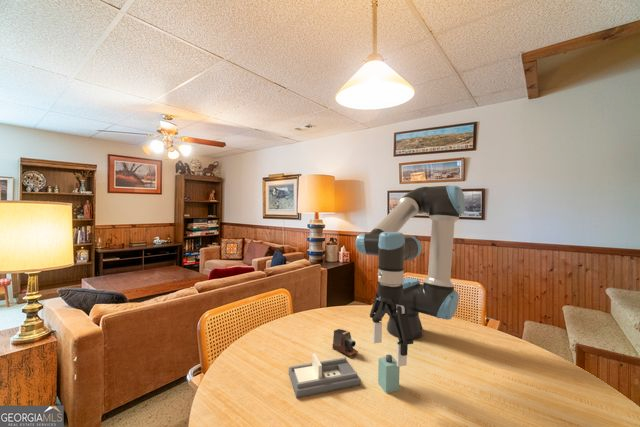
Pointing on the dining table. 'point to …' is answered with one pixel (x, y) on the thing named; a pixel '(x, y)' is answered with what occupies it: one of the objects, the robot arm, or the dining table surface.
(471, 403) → the dining table surface
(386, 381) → the teal bottle
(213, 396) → the dining table surface
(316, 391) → the socket board
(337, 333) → the electronic device
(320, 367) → the shutter
